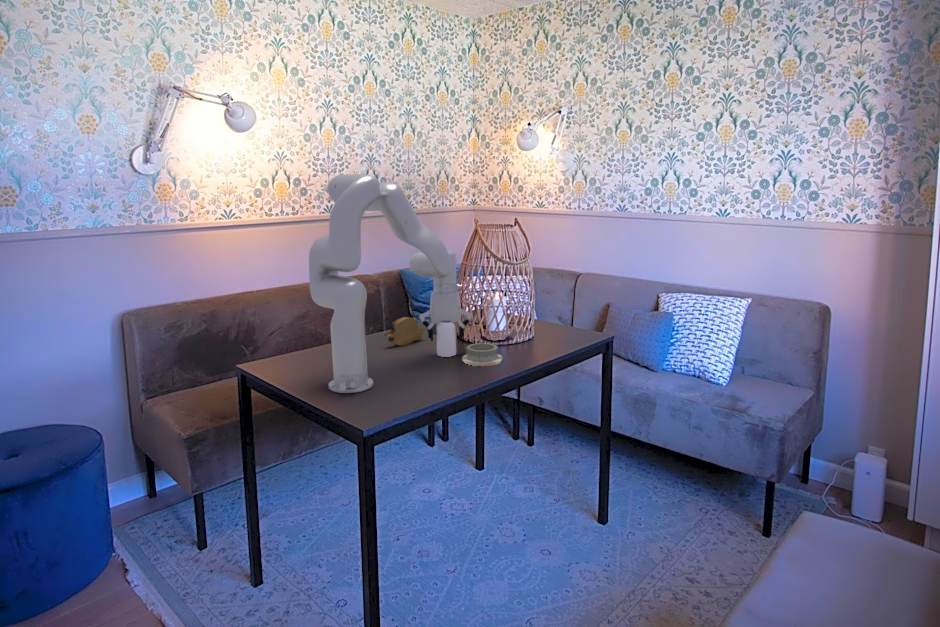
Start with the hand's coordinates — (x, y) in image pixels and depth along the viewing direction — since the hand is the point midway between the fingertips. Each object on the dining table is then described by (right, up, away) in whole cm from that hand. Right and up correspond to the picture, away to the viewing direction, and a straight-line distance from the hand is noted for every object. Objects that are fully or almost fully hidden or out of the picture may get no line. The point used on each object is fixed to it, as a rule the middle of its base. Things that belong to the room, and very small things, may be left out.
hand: (446, 339), depth 211 cm
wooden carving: (-15, -3, +16) cm, 22 cm away
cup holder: (+12, -7, -6) cm, 15 cm away
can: (0, -5, +1) cm, 6 cm away
